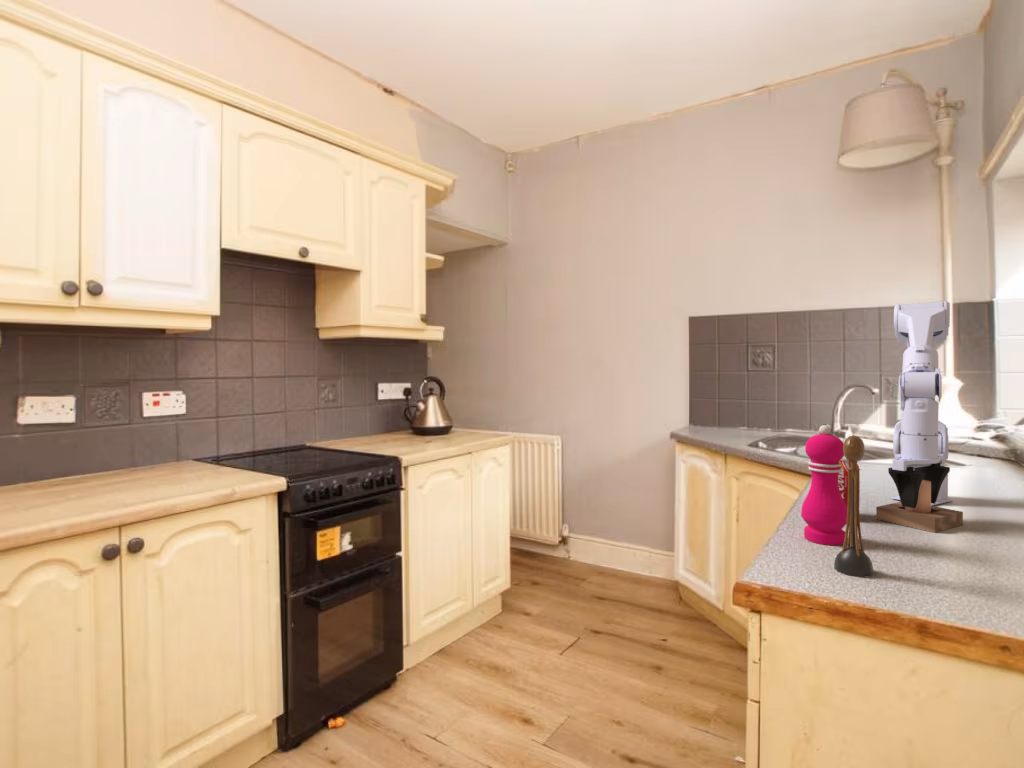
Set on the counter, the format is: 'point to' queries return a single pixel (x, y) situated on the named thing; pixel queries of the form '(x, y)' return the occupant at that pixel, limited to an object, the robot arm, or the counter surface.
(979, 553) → the counter surface
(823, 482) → the pepper mill
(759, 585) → the counter surface
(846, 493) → the soda can
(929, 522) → the socket block
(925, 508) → the peg
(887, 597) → the counter surface
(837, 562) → the wooden tabletop sculpture
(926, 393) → the robot arm
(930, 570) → the counter surface
